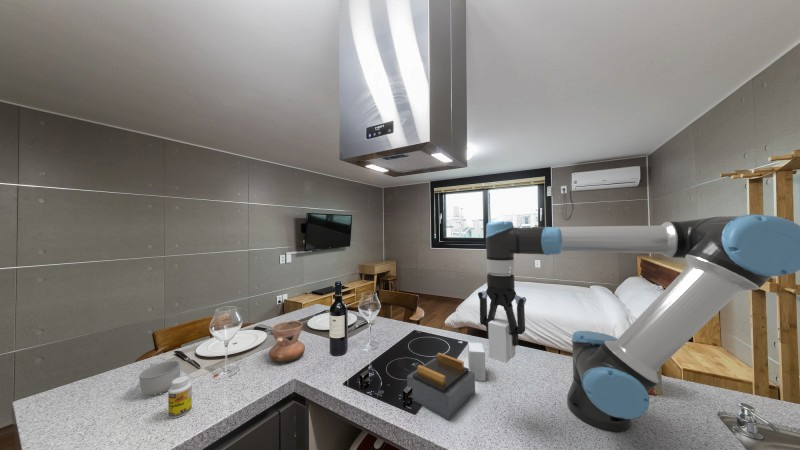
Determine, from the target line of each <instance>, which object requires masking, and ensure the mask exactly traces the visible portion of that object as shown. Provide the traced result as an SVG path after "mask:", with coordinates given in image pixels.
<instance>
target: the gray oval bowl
mask: <svg viewBox="0 0 800 450" xmlns="http://www.w3.org/2000/svg"><path fill="white" fill-rule="evenodd" d="M179 377H181V362H180V360H175V359H174V360H173V359H172V360H167V361H162V362H159V363H157V362H154V363H151V364H150V365H149V366H148V367H147V368H145V369H144V370H142V371H141V372H140V373H138V379H139V388H140V390H141V393H143V395H145V396H147V395H148V396H152V395H154V396H156V395H155V394H159V395H161V394H160V393H162V394H164V393H163V392H165V393H166V391H167V392H168V391H169V389H170V388H171V387H172V381H173V380H175V379H176V378H179Z"/></svg>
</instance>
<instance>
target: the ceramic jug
mask: <svg viewBox="0 0 800 450" xmlns="http://www.w3.org/2000/svg"><path fill="white" fill-rule="evenodd" d="M302 329H303V322H302V321H300V320H284V321H281V322H278V323H275V324H274V325H272V327H271V331H272V334H273V337H274V340H275V342H276V344H274V345H273V346H272V347H271V348H270V350H269V351H268V356H269V358H270V359H271V360H272V361H274V362H278V363H287V362H292V361H294V360H296V359H298V358H300V357H302V355H303V354H304V352H305V350H306V346H305V344H304V343H303V342H302V341H300V340H298V339H299V337H300V334H301V332H302Z"/></svg>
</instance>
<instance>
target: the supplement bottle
mask: <svg viewBox="0 0 800 450" xmlns="http://www.w3.org/2000/svg"><path fill="white" fill-rule="evenodd" d="M192 387H193V384H192V382H190V381H189V376H186V375H185V376H184V375H183V376H180V377H179V378H176V379H175V380H173V381H172V387H171V388H170V389H169V390H168V391H167V397H168V398H167V399H168V401H167V403H168V404H167V406H168V407H167V409H168V410H167V411H168V412H167V413H168V418H170V419H177V417H178V418H180V417H183V416H185V415H187V414H188V413H189V412H191V410H192V407H193V406H192V404H193V403H192V402H193V400H192V399H193V398H192V397H193V395H192V393H193V392H192V391H193V390H192Z"/></svg>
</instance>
